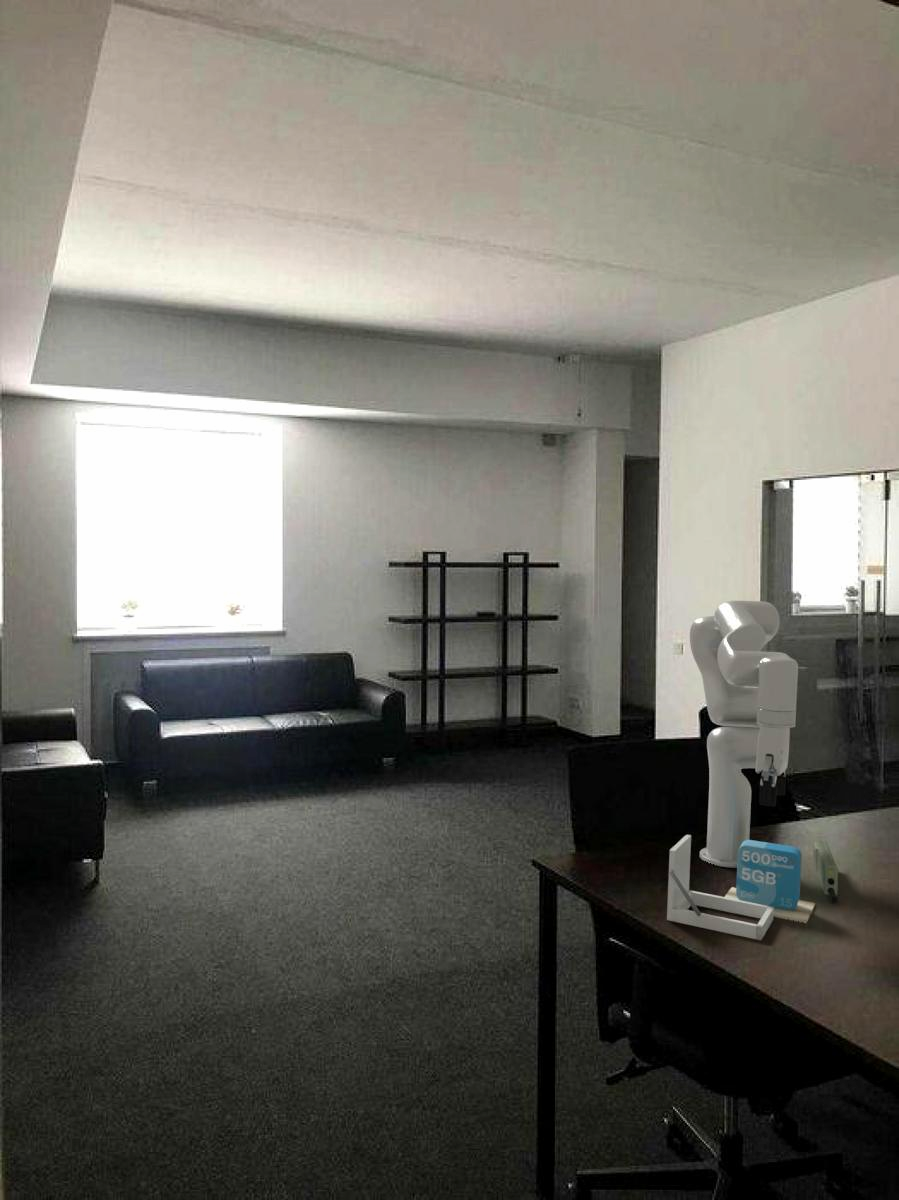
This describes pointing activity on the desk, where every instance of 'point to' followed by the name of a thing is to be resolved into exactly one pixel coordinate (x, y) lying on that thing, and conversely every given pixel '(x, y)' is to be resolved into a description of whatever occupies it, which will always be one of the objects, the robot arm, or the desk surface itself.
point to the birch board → (797, 914)
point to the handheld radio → (826, 868)
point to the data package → (769, 874)
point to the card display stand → (709, 901)
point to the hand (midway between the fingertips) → (772, 800)
